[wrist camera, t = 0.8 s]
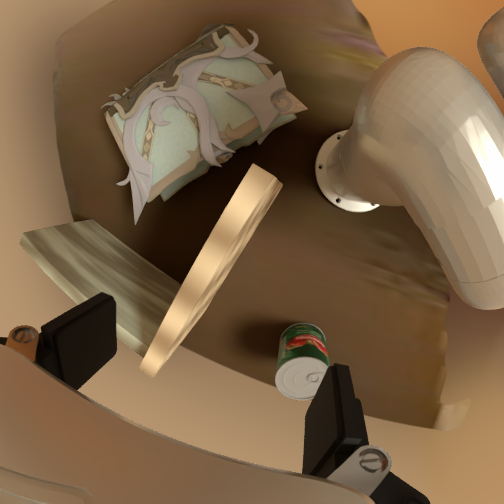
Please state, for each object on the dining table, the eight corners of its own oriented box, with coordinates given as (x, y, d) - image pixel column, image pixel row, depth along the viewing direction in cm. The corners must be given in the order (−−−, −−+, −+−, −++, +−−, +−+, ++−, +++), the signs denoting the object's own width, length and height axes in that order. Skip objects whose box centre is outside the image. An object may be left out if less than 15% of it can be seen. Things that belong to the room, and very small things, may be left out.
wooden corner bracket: (144, 108, 42) (69, 74, 23) (283, 184, 41) (273, 175, 22) (89, 228, 48) (10, 246, 29) (204, 312, 48) (153, 378, 28)
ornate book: (239, 33, 38) (105, 125, 44) (229, 2, 29) (74, 115, 34) (312, 127, 40) (157, 224, 46) (319, 108, 31) (128, 231, 36)
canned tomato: (283, 363, 47) (279, 403, 37) (276, 325, 46) (270, 361, 35) (327, 357, 46) (333, 396, 35) (323, 318, 45) (329, 353, 34)
